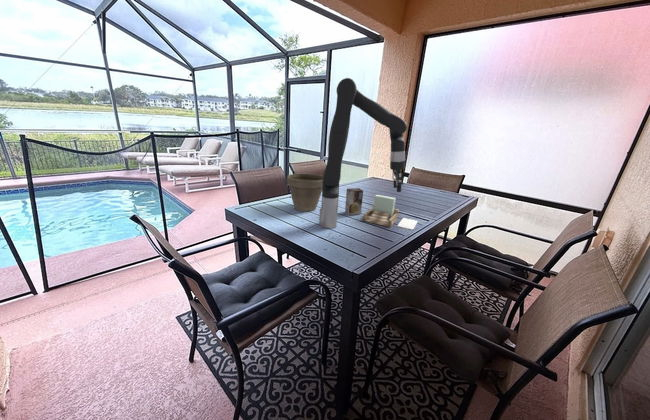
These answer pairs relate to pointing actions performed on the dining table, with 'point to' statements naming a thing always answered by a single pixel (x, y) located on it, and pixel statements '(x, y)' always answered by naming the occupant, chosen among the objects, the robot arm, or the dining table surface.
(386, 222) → the rack
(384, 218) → the front offcut
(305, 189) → the plant pot
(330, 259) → the dining table surface
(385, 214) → the back offcut
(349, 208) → the coffee box
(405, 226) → the white flat rectangle
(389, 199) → the pale green upright slab
